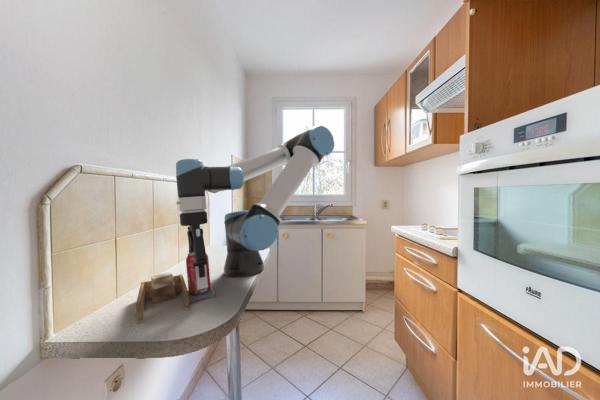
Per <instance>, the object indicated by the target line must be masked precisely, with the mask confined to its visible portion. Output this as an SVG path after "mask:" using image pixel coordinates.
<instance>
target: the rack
mask: <svg viewBox="0 0 600 400" xmlns="http://www.w3.org/2000/svg"><path fill="white" fill-rule="evenodd" d="M173 281H174V284H175V293H177V292H180V293H181V298H182V301H183V304H185V305H184V308H186V309H185V311H189V310H190V303H189V300H188V286H187V284H186V281H185V279H184V275H183V274H182V273H181V274H176V275H173ZM151 286H152V282H151V280H147V281H143V282H141V281H140V287H139V289H138V290H139V291H138V295H137V298H136V314H137V315H136V316H137V324H142V323H143V319H144V313H145V306H146V305H145V304H146V300H148V299H152V295H151Z"/></svg>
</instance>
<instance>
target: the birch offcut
mask: <svg viewBox="0 0 600 400" xmlns="http://www.w3.org/2000/svg"><path fill="white" fill-rule="evenodd" d="M173 276H174V275H173V273H171V272H165V273H161V274H158V275H154V276H153V275H152V276H151V277H150V278H151V279H150V281H151V282H152V287H153V289H158V288H161V287H165V286H169V285H173Z"/></svg>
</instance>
